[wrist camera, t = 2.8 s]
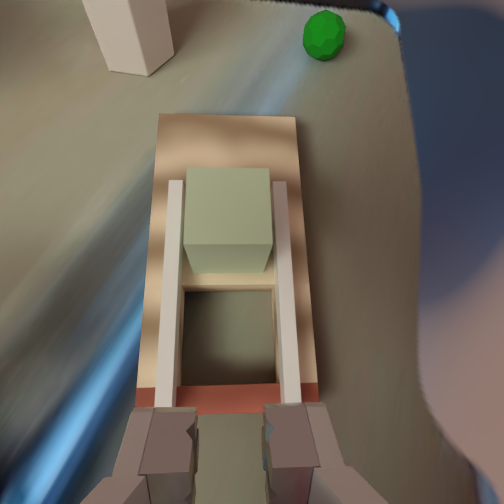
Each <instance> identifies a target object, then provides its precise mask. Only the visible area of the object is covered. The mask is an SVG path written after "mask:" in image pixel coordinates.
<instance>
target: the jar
mask: <svg viewBox="0 0 504 504" xmlns="http://www.w3.org/2000/svg"><path fill="white" fill-rule="evenodd" d="M82 3H83V5H84V8H85V10H86V13H87V15H88V18H89V20H90V23H91V25H92V28H93V31H94V33H95V36H96V38H97V41H98V43H99V46H100V48H101V51H102V54H103V56H104V59H105V61H106V64H107V66H108V69H109V70H110V71H114V72H121V73H128V74H135V75H141V76H150V75H151V74H152V73H153V72H154V71H156V70H157V69H158V68H159V67H160V66H162V65H163V64H164V63H165V62H166V61H168V60H169V59H170V58H171V57H172V56H174V48H173V42H172V37H171V31H170V25H169V19H168V13H167V7H166V1H165V0H82Z"/></svg>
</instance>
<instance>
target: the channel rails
mask: <svg viewBox="0 0 504 504" xmlns="http://www.w3.org/2000/svg"><path fill="white" fill-rule="evenodd" d="M270 196H271V215H272V235H273V255H274V275H275V294H276V314H277V334H278V353H279V373H280V393H281V403H297V402H301V388H300V374H299V359H298V345H297V330H296V316H295V302H294V287H293V273H292V258H291V244H290V230H289V215H288V201H287V186H286V181H273V183H272V187H271V192H270ZM184 212H185V188H184V183H183V180H169V186H168V202H167V217H166V233H165V248H164V264H163V279H162V295H161V310H160V326H159V341H158V357H157V372H156V388H155V403H154V407H176V390H177V367H178V345H179V323H180V301H181V279H182V256H183V234H184Z"/></svg>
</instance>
